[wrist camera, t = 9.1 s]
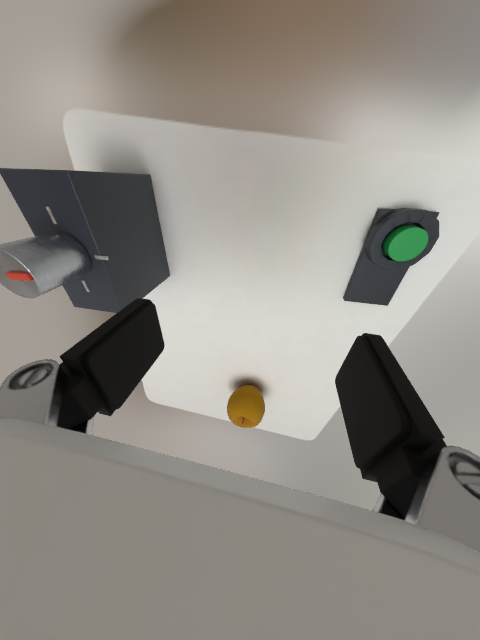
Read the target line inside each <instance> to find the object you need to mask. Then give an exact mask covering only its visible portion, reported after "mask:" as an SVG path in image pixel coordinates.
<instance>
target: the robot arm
mask: <svg viewBox="0 0 480 640" xmlns="http://www.w3.org/2000/svg"><path fill="white" fill-rule="evenodd" d="M163 349H164V341H163V337H162V332H161V328H160V324H159V320H158V316H157V311H156V307H155V305H154V304H153V303H152V301H151V300H148V299H141V298H137V299H135V300H134V301H133V302H131V303H130V304H129V305H127V306H126V307H125V308H123V309H122V310H121V311H119V312H118V313H117V314H115V315H114V316H113V317H111V318H110V319H109V320H108V321H106V322H105V323H103V324H102V325H101V326H99V327H98V328H97V329H95V330H94V331H93V332H91V333H90V334H89V335H87V336H86V337H85V338H83V339H82V340H81V341H79V342H78V343H77V344H75V345H74V346H73V347H72V348H70V349H69V350H68V351H66V352H65V353H64V354H62V355H61V356H60V358H61V359H62V361H63V363H61V364H60V365H59V364H58V363H57V362H56V361H54V360H48V359H45V360H39V361H35V362H32V363H29V364H27V365H25V366H22V367H20V368H19V369H17V370H16V371H14V372H12V373H11V374H10V375H9V376H8V377H7V378H6V379H5V380H4V382H3V383H2V385H1V387H0V640H480V457H479V456H477V455H475V454H474V453H472V452H470V451H468V450H465V449H463V448H460V447H455V446H446V444H445V442H444V441H443V438H444V436H443V434H442V433H441V431H440V429H439V428H438V426H437V424H436V423H435V421H434V420H433V418H432V417H431V415H430V413H429V412H428V410H427V408H426V407H425V405H424V404H423V402H422V400H421V399H420V397H419V396H418V394H417V393H416V391H415V389H414V388H413V386H412V385H411V383H410V381H409V380H408V378H407V376H406V375H405V373H404V372H403V370H402V368H401V367H400V365H399V364H398V362H397V360H396V359H395V357H394V356H393V354H392V353H391V351H390V349H389V347H388V346H387V344H386V343H385V341H384V339H383V338H382V337H381V336H380V335H374V334H367V333H364V334H363V335H362V336H358V337H357V338H356V340H355V342H354V344H353V345H352V347H351V349H350V351H349V353H348V355H347V357H346V359H345V361H344V362H343V364H342V366H341V368H340V370H339V372H338V374H337V376H336V379H335V384H336V388H337V392H338V396H339V400H340V405H341V408H342V413H343V417H344V420H345V425H346V429H347V433H348V438H349V442H350V446H351V450H352V454H353V458H354V462H355V464H356V466H357V468H360V470H361V474H362V478H363V479H366V480H371V481H375V482H378V486H379V489H380V492H381V494H380V496H379V498H378V500H377V502H376V504H375V506H374V508H373V510H372V511H370V510H367V509H364V508H360V507H356V506H354V505H350V504H346V503H343V502H339V501H336V500H333V499H329V498H325V497H322V496H318V495H314V494H311V493H307V492H303V491H300V490H296V489H292V488H288V487H284V486H281V485H277V484H274V483H270V482H266V481H263V480H259V479H255V478H251V477H248V476H244V475H240V474H236V473H233V472H229V471H225V470H222V469H218V468H214V467H210V466H207V465H203V464H199V463H195V462H192V461H188V460H184V459H180V458H177V457H173V456H169V455H165V454H161V453H158V452H154V451H150V450H146V449H142V448H139V447H135V446H131V445H127V444H123V443H119V442H116V441H112V440H108V439H104V438H100V437H96V436H93V422H94V415H95V414H96V413H97V412H99V413H100V414H104V415H108V416H111V415H112V414H113V412H114V411H115V410H116V409H119V408H120V407H121V406H122V405H123V403H124V402H125V401H126V399H127V398H128V397H129V395H130V394H131V393H132V391H133V390H134V389H135V387H136V386H137V385H138V383H139V382H140V381H141V379H142V378H143V377H144V375H145V374H146V373H147V371H148V370H149V369H150V367H151V366H152V365H153V363H154V362H155V361H156V359H157V358H158V357H159V355H160V354H161V353H162V351H163Z"/></svg>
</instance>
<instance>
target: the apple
mask: <svg viewBox="0 0 480 640" xmlns="http://www.w3.org/2000/svg"><path fill="white" fill-rule="evenodd" d="M264 412H265V403H264V400H263V397H262V395H261V393H260V391H259V389H258V388H257V387H255V386H253V385H245V386H242V387H240V388H238V389H237V390H236V391H235V392H233V394H232V395H231V396H230V398H229V401H228V405H227V413H228V416H229V419H230V420H231V421H232V422H233V423H234V424H236V425H237V426H240V427H250V428H251V427H255V426H257V425H258V424H259V423H260V422H261V420H262V417H263V415H264Z"/></svg>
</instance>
